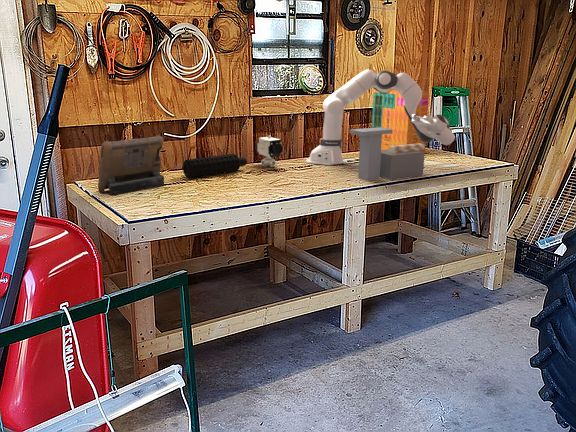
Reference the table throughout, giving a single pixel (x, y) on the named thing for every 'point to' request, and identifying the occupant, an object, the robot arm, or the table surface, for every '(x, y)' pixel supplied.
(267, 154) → the white security camera
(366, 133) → the stand
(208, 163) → the roller
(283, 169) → the table surface
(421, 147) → the bar
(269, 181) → the table surface
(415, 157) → the block
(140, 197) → the table surface
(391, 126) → the orange green grid box
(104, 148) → the tablet
